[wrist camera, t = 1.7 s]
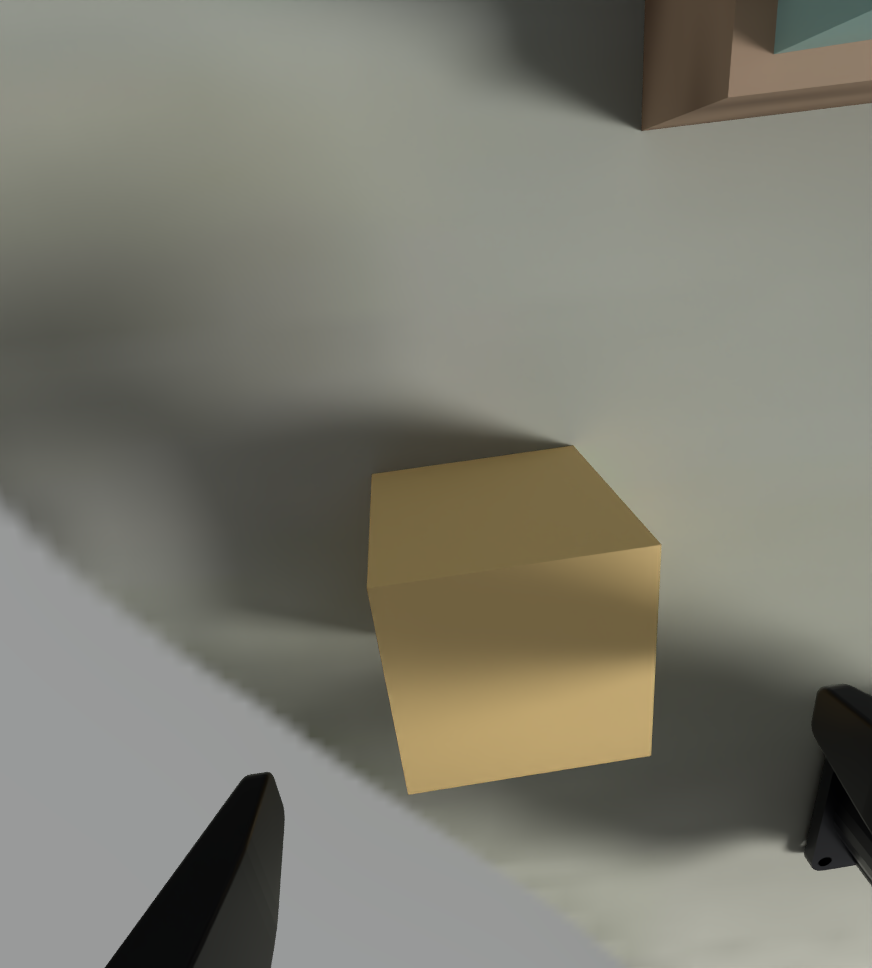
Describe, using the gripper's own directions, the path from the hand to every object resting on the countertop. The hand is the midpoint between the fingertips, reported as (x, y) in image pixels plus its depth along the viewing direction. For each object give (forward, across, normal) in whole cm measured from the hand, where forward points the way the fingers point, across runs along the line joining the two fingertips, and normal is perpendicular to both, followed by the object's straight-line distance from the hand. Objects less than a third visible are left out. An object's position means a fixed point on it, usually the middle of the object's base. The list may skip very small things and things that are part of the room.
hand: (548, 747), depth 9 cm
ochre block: (+6, 0, 0) cm, 7 cm away
